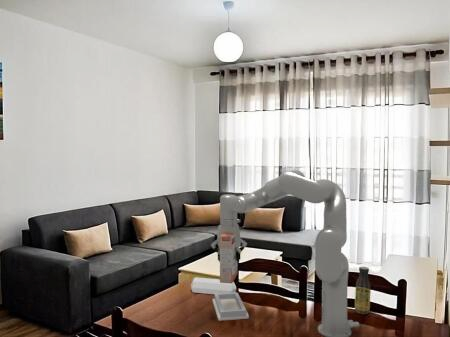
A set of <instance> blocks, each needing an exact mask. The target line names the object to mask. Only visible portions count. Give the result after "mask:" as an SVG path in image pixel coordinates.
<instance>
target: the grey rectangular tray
mask: <svg viewBox="0 0 450 337" xmlns="http://www.w3.org/2000/svg"><path fill="white" fill-rule="evenodd" d="M212 304H213V307H214V311H215V313H216V316H217V320H218V321H220V322H221V321H232V320H244V319H245V320H247V319H250V317H249V316H250V315H249V313H248V311H247V309H246V306H245V305H244V303H243V301H242V298H241V297H240V295H239V293H238V292H235V293H219V294H214V298H212Z"/></svg>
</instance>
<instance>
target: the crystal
mask: <svg viewBox="0 0 450 337" xmlns="http://www.w3.org/2000/svg"><path fill="white" fill-rule="evenodd" d="M190 287H191V292H192V293H199V294H205V295H206V294H208V295H215V294H219V293H235V292H236V291H237V286H236V284H235V282H234V281H233V283H220V278H208V277H207V278H206V277H196V276H195V277H193V279H192V281H191V283H190Z"/></svg>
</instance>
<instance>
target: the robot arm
mask: <svg viewBox="0 0 450 337" xmlns="http://www.w3.org/2000/svg"><path fill="white" fill-rule="evenodd" d="M289 195H290V196H292V197H295V198H298V199H301V200H302V201H305V202H308V203H311V204H315V205H316V204H321V203H324V209H323V226H322V227H323V228H322V229H320V231H318V233H317V235H316V238H315V245H314V246H315V247H314V252H315V254H314V256H315V257H314V260H315V261H314V264H315V265H314V266H315V267H314V268H315V274H316V276H317V277H318V278H319V280H320V281H321V284H322V285H321V288H322V289H321V324H319V325H318V326H317V331H318V333H319V334H320V335H322V336H324V337H350V336H351V335H352V328H359V327H360V323H359V321H353V320H352V319H348V282H349V281H348V280H349V268H350V266H349V261H348V258H347V256H346V255H345V254H344V253H342V248H343V247H344V246H345V245H346V244H347V240H348V236H347V234H348V232H347V225H348V224H347V199H346V195H345V192H344V191H343V189H342V188H341V186H339V185H338V184H337V183H336V182H335V181H332V180H329V179H325V178H324V179H317V180H314V179H311V178H308V177H306V175H305V174H304V173H303V172H302V171H300V170H297V169H294V170H287V171H283V173H281V174H280V175H279V176H278V177H275V178H274V179H270V180H269V181H267V182H265V183H264V185H263V186H262V187H261V188H259V189H256V190H255V191H252V192H249V193H245V194H242V195H241V194H240V195H238V196H237V195H235V194H231V193H230V194H229V193H228V194H222V195H221V196H219V204H220V205H219V206H220V207H219V213H220V214H219V216H220V219H219V221H220V224H219V225H218V228H217V236H216V237H217V238H216V240H214V241H213V242H212V243H211V244H210V247H211V248H212V249H213V250H214V251H215V253H217V261H218V262H219V263H220V235H221V234H234V235H235V248H236V249H237V252H236V254H237V263H240V260H241V253H242V252H243V250H244V249H245V248H246V247H247V245H248V242H246V241H245V240H243V239H242V238H241V232H240V226H239V224H240V223H241V218H240V219H239V218H238V214H245V213H247V212H250V211H254V210H257V209H258V208H261V207H263V206H265V205H268V204H270V203H274V202H277V201H278V200H281V199H282V198H285V197H287V196H289ZM238 223H239V224H238ZM241 244H242V245H241ZM216 245H217V246H218V248H217V246H216Z"/></svg>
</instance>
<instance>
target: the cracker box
mask: <svg viewBox="0 0 450 337" xmlns="http://www.w3.org/2000/svg"><path fill="white" fill-rule="evenodd" d="M236 252H237V249H236V248H235V235H234V234H221V235H220V262H219V279H220V283H233V282H234V281H235V279H236V278H237V276H238V262H237V254H236Z"/></svg>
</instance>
